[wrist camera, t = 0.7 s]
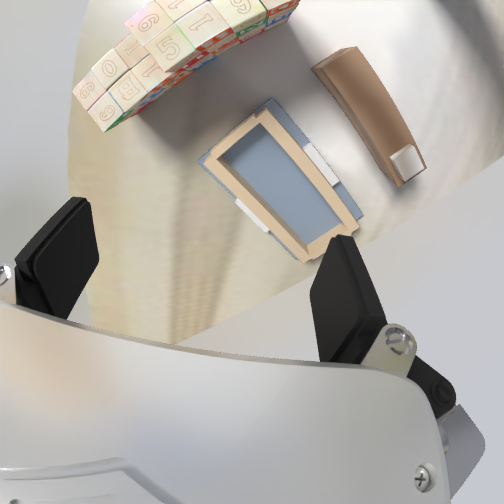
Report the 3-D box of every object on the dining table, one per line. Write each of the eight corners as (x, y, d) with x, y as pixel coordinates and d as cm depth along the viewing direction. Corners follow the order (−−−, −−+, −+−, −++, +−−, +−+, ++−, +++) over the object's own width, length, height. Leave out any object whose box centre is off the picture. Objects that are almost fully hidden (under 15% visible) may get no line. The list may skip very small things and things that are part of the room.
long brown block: (339, 49, 25) (360, 45, 19) (405, 151, 32) (431, 171, 26) (310, 68, 27) (324, 68, 21) (380, 169, 34) (402, 191, 28)
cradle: (272, 97, 29) (273, 100, 27) (362, 212, 38) (368, 223, 35) (198, 160, 34) (193, 168, 31) (295, 256, 43) (297, 269, 40)
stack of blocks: (137, 115, 30) (86, 142, 20) (111, 80, 27) (51, 95, 17) (288, 20, 23) (305, -5, 13) (259, -18, 20) (259, -59, 10)
